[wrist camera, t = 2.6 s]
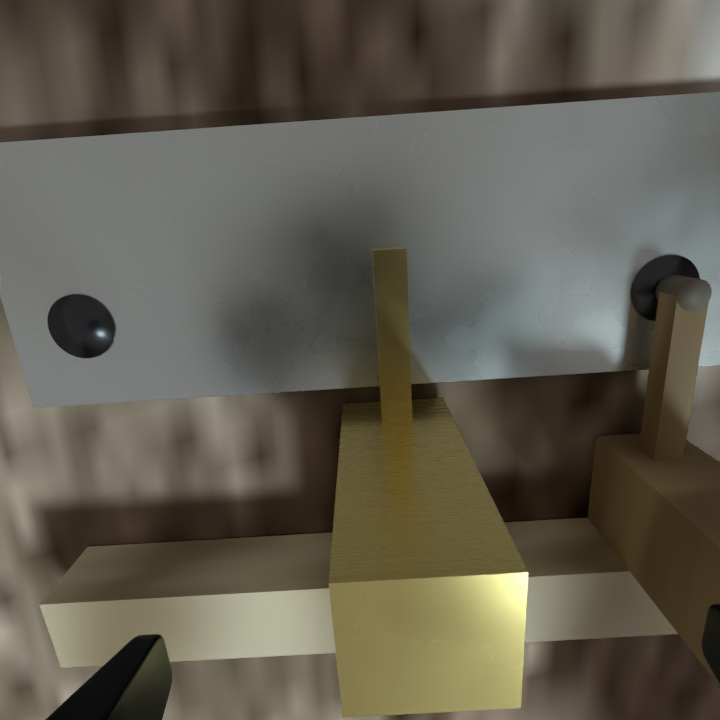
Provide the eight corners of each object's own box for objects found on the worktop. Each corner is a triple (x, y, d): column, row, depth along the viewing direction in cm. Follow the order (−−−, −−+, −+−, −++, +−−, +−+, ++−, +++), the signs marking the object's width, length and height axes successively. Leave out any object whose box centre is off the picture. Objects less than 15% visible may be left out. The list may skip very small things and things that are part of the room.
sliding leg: (441, 242, 12) (545, 266, 5) (444, 569, 15) (513, 841, 9) (330, 249, 12) (297, 283, 5) (356, 574, 15) (356, 848, 9)
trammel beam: (726, 267, 13) (1039, 305, 7) (674, 570, 16) (859, 774, 10) (19, 313, 13) (-255, 387, 7) (104, 603, 16) (-40, 819, 10)
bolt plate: (757, 93, 11) (777, 86, 11) (711, 359, 13) (726, 365, 13) (-29, 148, 12) (-47, 145, 11) (44, 401, 14) (32, 408, 13)
